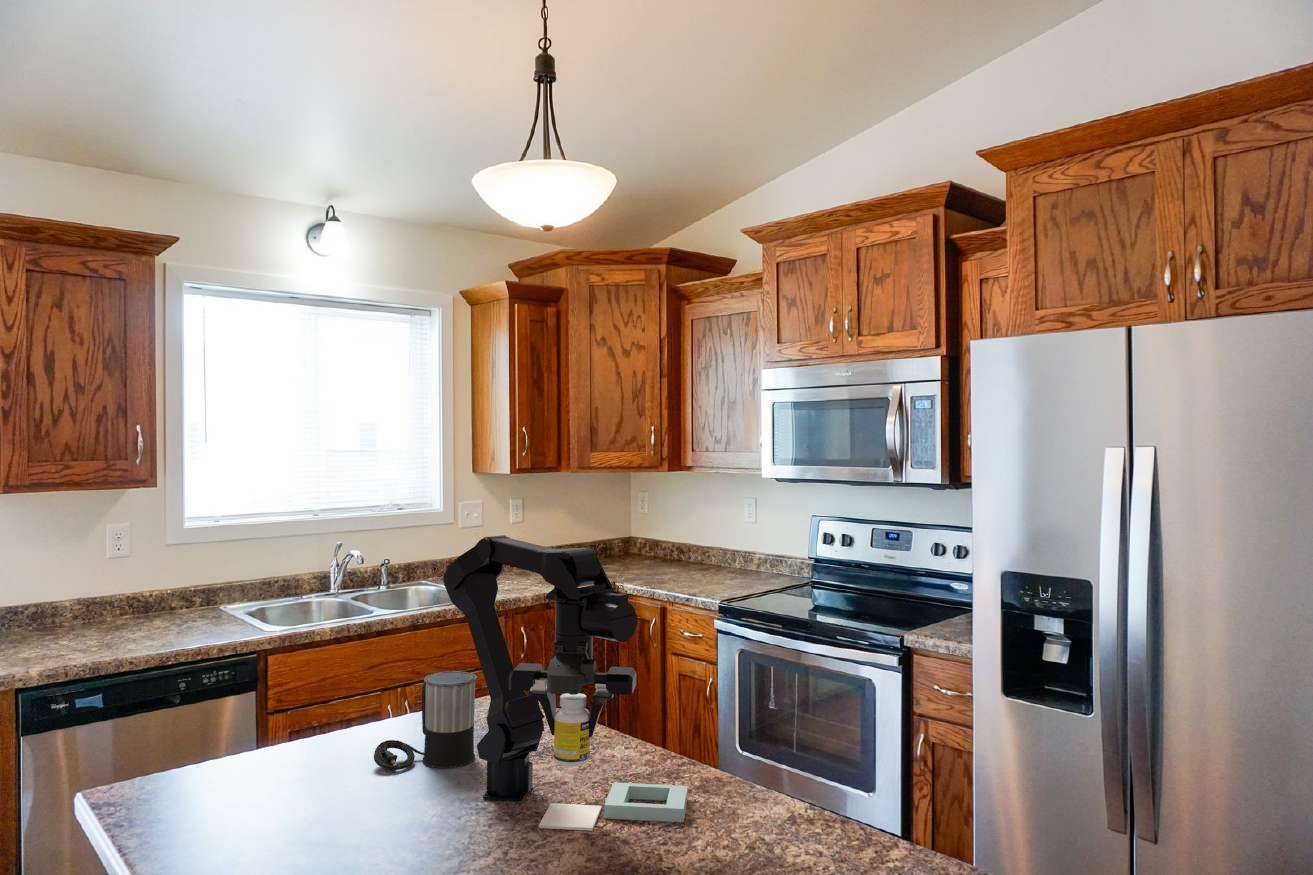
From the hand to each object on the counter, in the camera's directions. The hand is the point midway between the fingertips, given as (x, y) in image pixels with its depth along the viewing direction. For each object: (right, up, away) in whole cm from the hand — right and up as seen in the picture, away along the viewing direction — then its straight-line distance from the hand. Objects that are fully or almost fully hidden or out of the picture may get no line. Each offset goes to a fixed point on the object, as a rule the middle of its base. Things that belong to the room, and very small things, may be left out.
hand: (572, 735), depth 130 cm
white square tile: (0, -12, 0) cm, 12 cm away
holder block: (+11, -13, +3) cm, 17 cm away
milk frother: (-28, -13, +22) cm, 38 cm away
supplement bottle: (0, -4, 0) cm, 4 cm away
